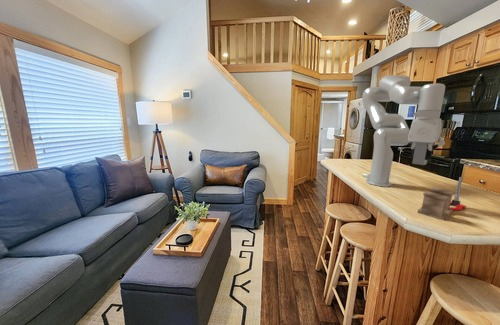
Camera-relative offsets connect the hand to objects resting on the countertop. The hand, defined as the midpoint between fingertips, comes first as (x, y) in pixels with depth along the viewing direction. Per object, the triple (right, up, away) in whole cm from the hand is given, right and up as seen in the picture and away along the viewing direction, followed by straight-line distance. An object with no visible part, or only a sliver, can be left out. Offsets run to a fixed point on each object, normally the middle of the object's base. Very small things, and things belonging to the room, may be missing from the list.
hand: (420, 158), depth 91 cm
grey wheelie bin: (0, -2, 0) cm, 2 cm away
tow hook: (+11, -21, -1) cm, 24 cm away
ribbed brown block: (0, -21, -7) cm, 23 cm away
